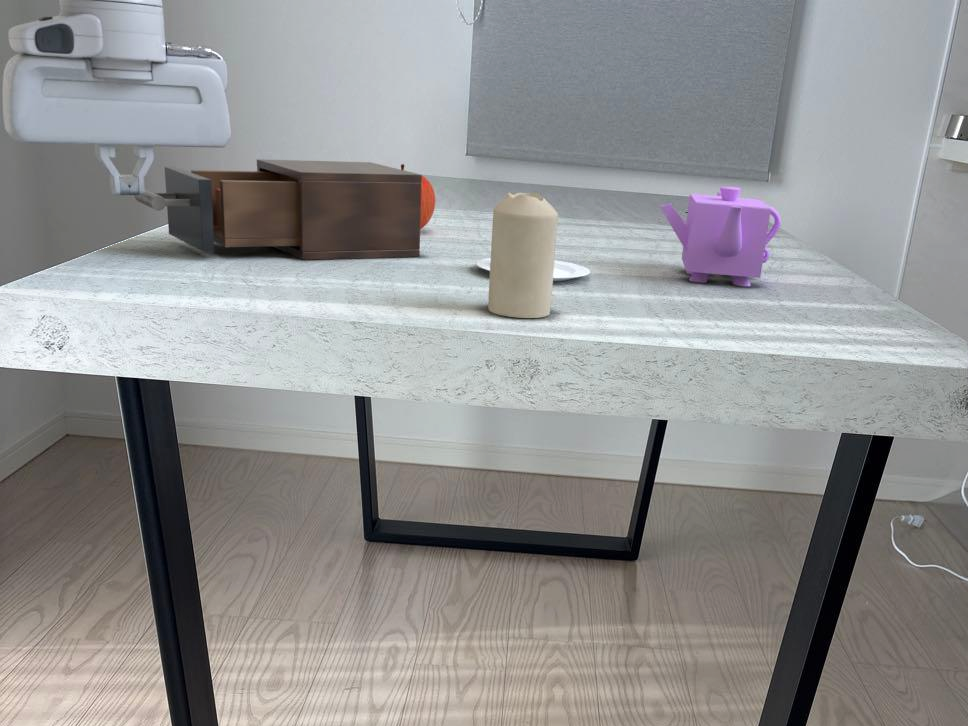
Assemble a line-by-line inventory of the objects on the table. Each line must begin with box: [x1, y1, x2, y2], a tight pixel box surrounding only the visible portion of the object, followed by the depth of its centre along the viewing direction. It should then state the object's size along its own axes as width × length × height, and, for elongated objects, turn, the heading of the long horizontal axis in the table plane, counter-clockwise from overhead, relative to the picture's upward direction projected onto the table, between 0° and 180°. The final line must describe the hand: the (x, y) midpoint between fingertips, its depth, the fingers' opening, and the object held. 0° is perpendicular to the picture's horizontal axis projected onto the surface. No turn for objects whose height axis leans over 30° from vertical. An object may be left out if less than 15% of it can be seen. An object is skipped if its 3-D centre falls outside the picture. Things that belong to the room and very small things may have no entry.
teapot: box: [660, 185, 782, 287], centre depth 115 cm, size 18×13×10 cm
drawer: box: [134, 166, 300, 253], centre depth 109 cm, size 16×11×7 cm
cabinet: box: [256, 158, 423, 261], centre depth 115 cm, size 14×13×9 cm
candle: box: [487, 192, 559, 319], centre depth 91 cm, size 6×6×10 cm
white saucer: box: [475, 257, 591, 282], centre depth 110 cm, size 12×12×4 cm
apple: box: [400, 163, 436, 230], centre depth 132 cm, size 8×8×8 cm
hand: (128, 194), depth 103 cm, fingers closed
